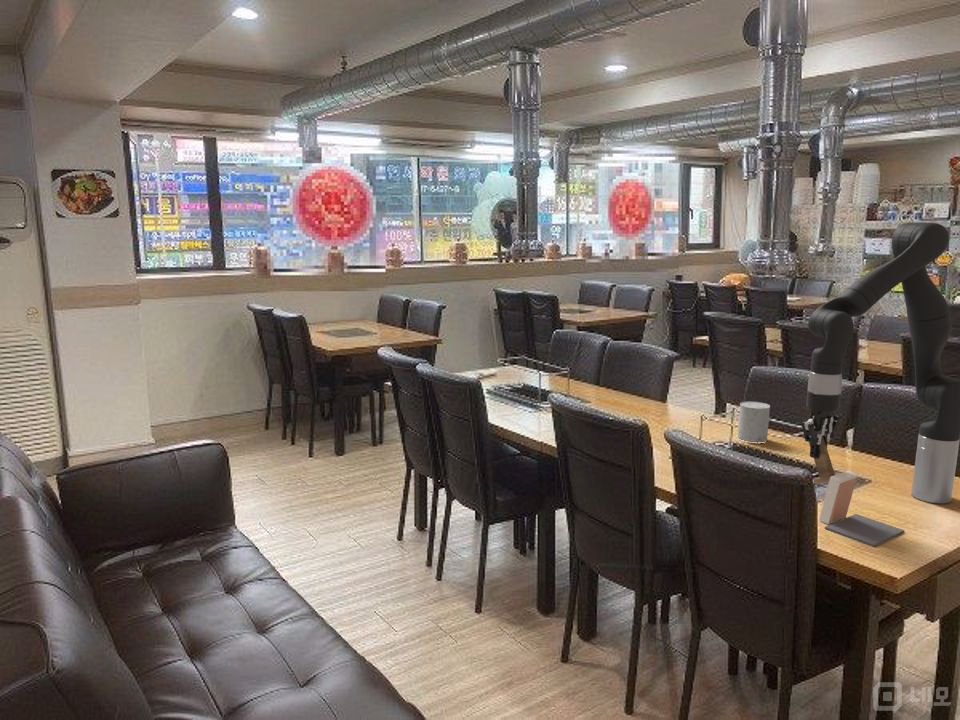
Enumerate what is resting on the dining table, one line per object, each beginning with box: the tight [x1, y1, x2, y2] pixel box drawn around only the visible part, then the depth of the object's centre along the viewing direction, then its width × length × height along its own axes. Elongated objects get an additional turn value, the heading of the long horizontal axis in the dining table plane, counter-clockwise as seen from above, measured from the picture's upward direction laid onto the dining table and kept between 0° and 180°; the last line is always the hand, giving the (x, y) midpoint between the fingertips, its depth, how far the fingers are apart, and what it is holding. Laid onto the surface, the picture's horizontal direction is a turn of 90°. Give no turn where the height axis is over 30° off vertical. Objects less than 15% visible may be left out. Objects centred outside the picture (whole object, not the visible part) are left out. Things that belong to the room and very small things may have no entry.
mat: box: [824, 513, 905, 548], centre depth 173 cm, size 14×12×1 cm
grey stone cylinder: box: [737, 401, 771, 443], centre depth 243 cm, size 10×10×12 cm
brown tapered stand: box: [808, 430, 838, 485], centre depth 180 cm, size 5×5×13 cm
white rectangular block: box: [818, 470, 858, 526], centre depth 177 cm, size 8×3×12 cm, turn 124°
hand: (817, 456), depth 181 cm, fingers closed on brown tapered stand, 2 cm apart
